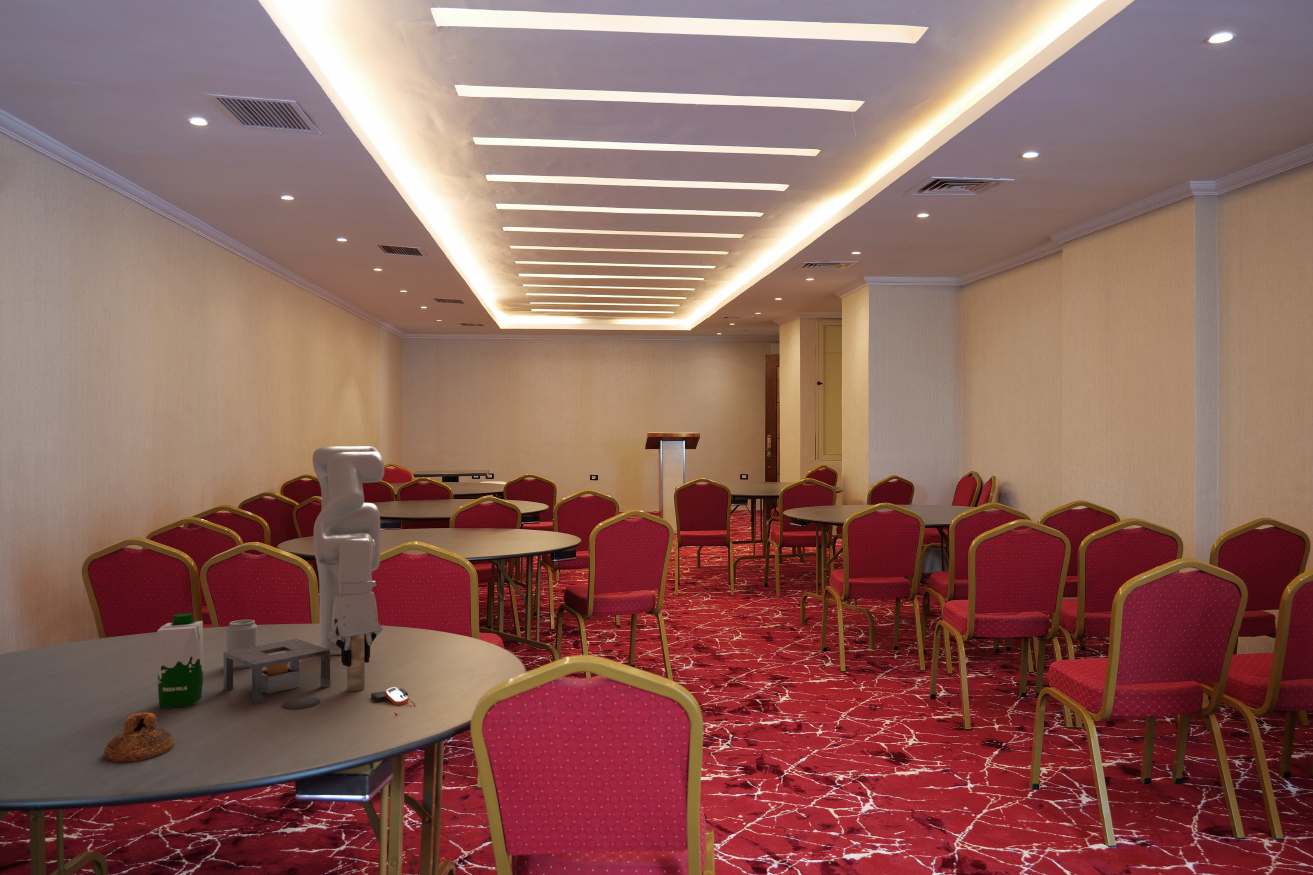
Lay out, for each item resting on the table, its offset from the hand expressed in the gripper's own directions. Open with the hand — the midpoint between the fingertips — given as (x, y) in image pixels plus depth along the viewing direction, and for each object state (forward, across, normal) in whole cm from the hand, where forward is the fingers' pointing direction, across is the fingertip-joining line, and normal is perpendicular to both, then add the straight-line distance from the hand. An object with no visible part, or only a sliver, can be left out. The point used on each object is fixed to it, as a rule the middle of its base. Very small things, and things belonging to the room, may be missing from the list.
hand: (355, 662), depth 202 cm
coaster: (+6, +14, +1) cm, 15 cm away
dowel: (+6, 0, 0) cm, 6 cm away
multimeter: (+7, -2, +19) cm, 20 cm away
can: (+7, +9, -44) cm, 45 cm away
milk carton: (+7, +32, -21) cm, 39 cm away
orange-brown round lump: (+3, +12, -16) cm, 20 cm away
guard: (+6, +12, -16) cm, 21 cm away
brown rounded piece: (+7, +48, +6) cm, 49 cm away
